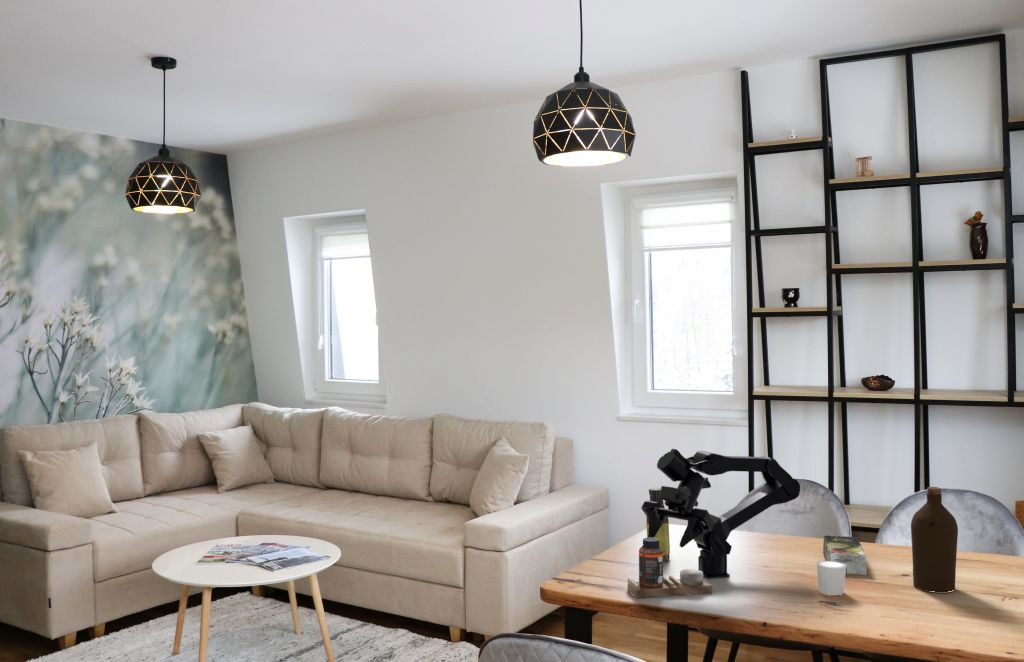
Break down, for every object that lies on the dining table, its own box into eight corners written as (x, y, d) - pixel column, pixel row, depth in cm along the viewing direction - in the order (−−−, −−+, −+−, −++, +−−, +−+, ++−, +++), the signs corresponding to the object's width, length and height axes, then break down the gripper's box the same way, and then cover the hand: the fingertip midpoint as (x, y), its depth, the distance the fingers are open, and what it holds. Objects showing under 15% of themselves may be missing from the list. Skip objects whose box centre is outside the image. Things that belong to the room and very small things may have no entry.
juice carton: (869, 577, 230) (869, 553, 230) (829, 575, 232) (829, 551, 232) (858, 557, 249) (858, 536, 249) (822, 556, 251) (821, 534, 251)
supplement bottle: (667, 587, 214) (667, 541, 214) (645, 589, 213) (645, 542, 212) (656, 580, 220) (656, 535, 220) (634, 582, 218) (634, 537, 218)
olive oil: (966, 594, 214) (966, 492, 214) (922, 594, 214) (922, 492, 214) (945, 581, 225) (945, 483, 224) (903, 581, 225) (903, 483, 225)
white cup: (832, 598, 212) (832, 569, 212) (810, 590, 218) (810, 562, 218) (852, 594, 215) (852, 565, 215) (830, 586, 221) (830, 558, 221)
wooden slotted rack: (701, 585, 222) (701, 567, 222) (712, 593, 216) (712, 575, 216) (627, 590, 218) (627, 572, 218) (636, 598, 212) (636, 579, 212)
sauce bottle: (673, 558, 247) (673, 488, 247) (664, 563, 242) (664, 491, 242) (651, 555, 251) (651, 485, 251) (642, 560, 246) (642, 489, 245)
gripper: (644, 469, 230) (620, 519, 222) (708, 477, 217) (684, 530, 209) (661, 495, 236) (638, 544, 228) (724, 504, 223) (702, 556, 215)
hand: (664, 543), depth 220 cm, fingers open, 9 cm apart
